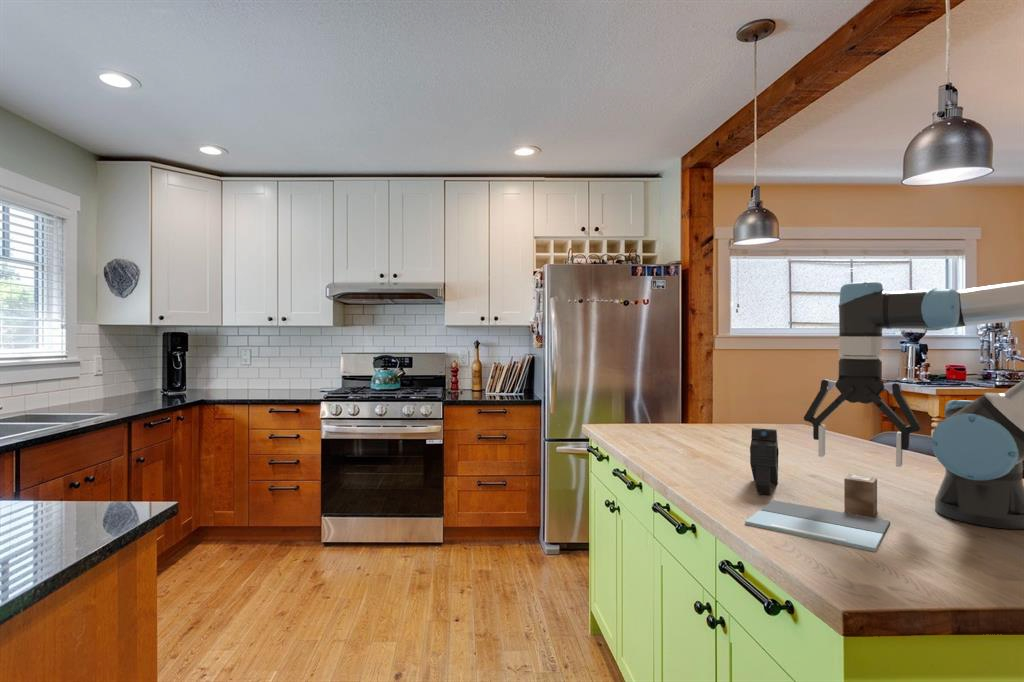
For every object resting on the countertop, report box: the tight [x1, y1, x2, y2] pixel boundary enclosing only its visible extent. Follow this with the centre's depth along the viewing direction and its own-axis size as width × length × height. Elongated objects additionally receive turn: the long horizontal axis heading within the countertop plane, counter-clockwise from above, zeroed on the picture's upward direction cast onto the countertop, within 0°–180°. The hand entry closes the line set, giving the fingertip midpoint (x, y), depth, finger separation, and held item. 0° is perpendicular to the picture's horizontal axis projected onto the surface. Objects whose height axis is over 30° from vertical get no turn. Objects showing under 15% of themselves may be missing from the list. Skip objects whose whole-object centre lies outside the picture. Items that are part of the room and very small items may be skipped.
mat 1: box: [760, 499, 891, 537], centre depth 108 cm, size 21×9×1 cm, turn 49°
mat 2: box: [744, 509, 884, 553], centre depth 101 cm, size 21×9×1 cm, turn 49°
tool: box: [749, 427, 779, 495], centre depth 132 cm, size 6×19×15 cm, turn 152°
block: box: [843, 473, 878, 518], centre depth 112 cm, size 5×5×7 cm
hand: (858, 460), depth 112 cm, fingers open, 13 cm apart
